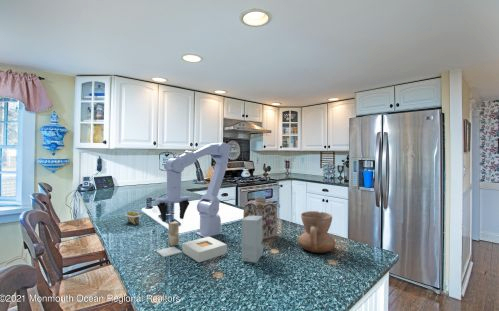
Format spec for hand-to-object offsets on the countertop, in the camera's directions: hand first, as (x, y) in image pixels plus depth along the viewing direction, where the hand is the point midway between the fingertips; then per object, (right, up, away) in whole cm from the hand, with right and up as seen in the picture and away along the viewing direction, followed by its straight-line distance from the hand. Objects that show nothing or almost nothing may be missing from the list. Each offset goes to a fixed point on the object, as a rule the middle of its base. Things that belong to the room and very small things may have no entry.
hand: (172, 219), depth 102 cm
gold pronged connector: (-31, -10, +30) cm, 45 cm away
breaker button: (+15, -9, -8) cm, 19 cm away
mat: (+1, -10, -8) cm, 13 cm away
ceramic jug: (+59, -11, -3) cm, 60 cm away
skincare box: (+33, -11, -12) cm, 37 cm away
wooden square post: (0, -10, 0) cm, 10 cm away
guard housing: (+15, -10, -8) cm, 20 cm away
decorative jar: (+37, -11, +13) cm, 41 cm away
